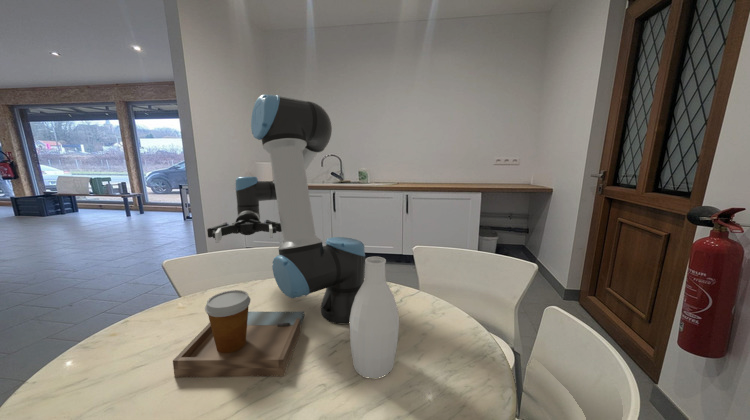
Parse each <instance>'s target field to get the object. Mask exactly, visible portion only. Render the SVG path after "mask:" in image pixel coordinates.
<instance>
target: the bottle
mask: <svg viewBox="0 0 750 420" xmlns="http://www.w3.org/2000/svg"><path fill="white" fill-rule="evenodd" d="M386 263H387V259H386V258H385V257H381V256H377V255H376V256H369V257H365V271H364V282H363V284H362V286H361V287H360V289H359V290H358V292H357V294H356V296H355V299H354V302H353V305H352V308H351V313H350V319H349V322H350V323H349V338H350V339H349V341H350V342H349V343H350V350H351V357H352V364H353V368H354V369H355V372H356V373H357V374H359V375H360V376H361V375H362V376H361V377H363V376H364V377H363V378H365V377H369V378H379V377H382V376H384V375H386V374H387V375H388V373H389V372H390V373H391V372H392V370H393V367H394V363H395V359H396V353H397V348H398V339H399V330H400V329H399V328H400V318H399V311H398V306H397V302H396V299H395V295H394V293H393V292H392V290H391V288H390V286H389V284H388V283H387V280H386ZM390 373H389V374H390ZM387 375H386V376H387ZM382 378H383V377H382Z"/></svg>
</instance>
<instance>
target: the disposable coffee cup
mask: <svg viewBox="0 0 750 420" xmlns="http://www.w3.org/2000/svg"><path fill="white" fill-rule="evenodd" d="M251 300H252V299H251V297H250V296H249V294H248V292H247V291H245V290H240V289H239V290H238V289H233V290H226V291H222V292H218V293H217V294H213V295H212V296H211V297H209V298H208V299H207V301H206V303H205V304H206V305H205V306H204V311H205V313H206V314H207V315H208V320H209V323H210V324H211V328H212V332H213V336H214V340H215V344H216V348H217V351H218V352H220V353H231V352H234V351H237V350H239V349H240V348H242V347H243V346H244V345H245V343H246V333H247V320H248V312H249V306H250V303H251V302H252V301H251Z"/></svg>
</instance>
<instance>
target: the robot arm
mask: <svg viewBox="0 0 750 420" xmlns="http://www.w3.org/2000/svg"><path fill="white" fill-rule="evenodd" d="M250 119H251V122H250V123H251V124H250V125H251V126H250V127H251V134H252V135H253V138H255V139H256V140H258V141H261V143H262V144H261V145H262V149H263V150H264V151H265V152H267V153H269V155H270V162H271V170H272V176H273V180H268V181H267V180H266V181H265V180H264V181H262V180H259V179H258V177H257V176H238V177H236V179H235V197H236V209H237V218H236V219H235V221H233V222H232V223H231V224H230V223H229V222H223V223H222V224H218V225H215V226H212V227H209V228H206V230H207V238H213V239H214V240H215V244H219V243H220V242H221V240H222V238H223V237H224V236H228V235H231V234H241V235H244V236H252V235H254V234H255V233H259V232H264V233H265V232H267V233H269V234H268V235H269V238H270V239H273V238H274V234H276V233H277V232H278V233H281V235H282V242H281V244H280V245H279V247H278V255H276V256H275V257H274V258H273V259H272V266H271V267H272V274H273V277H274V280H275V283H276V285H277V287H278V288H279V290H280V291H281V292H282V293H283V295H285V296H286V297H287V298H290V299H297V298H300V297H303V296H304V297H307V296H309V295H310V294H313V293H315V292H319V291H321V290H324V289H325V293H324V296H323V298H322V300H321V305H320V314H321V317H323V319H325V320H326V321H328V322H330V323H333V322H334V324H338V323H349V319H350V313H351V308H352V305H353V302H354V299H355V296H356V294H357V292H358V290H359V289H360V287H361V286H362V284H363V282H364V281H365V266H366V263H365V259H366V253H365V252H366V251H365V245H364V243H363V242H362V241H361V240H359V239H356V238H351V237H344V236H342V237H341V236H334V237H329V238H327V239H326V241H325V245H324V244H323V240H321V239H320V237H318V236H317V235H316V231H315V230H316V228H315V225H314V217H313V216H314V215H313V211H312V204H311V198H310V191H309V183H308V180H307V173H306V170H307V169H308V168H309V166H310V164H311V163H312V162H313V161H314V158H315V157H316V156H317V154H319V153H321V152H323V151H324V150H325V148H326V147H327V146H328V144H329V143H330V141H331V138H332V131H333V130H332V129H333V128H332V122H331V118H330V116H329V114H328V113H327V112H326V110H325V109H324V108H323V107H322V106H321V105H319V104H318V103H316V102H313V101H307V100H301V99H295V98H291V97H286V96H280V95H278V94H276V95H274V94H261V95H260V96H258V98H257V99H256V101H255V103H254V105H253V109H252V112H251V118H250ZM275 200H276V201H277V208H278V209H277V210H278V217H279V221H280V222H276V221H271V220H269V219H266V220H264V222H261V214H260V202H262V201H263V202H264V201H275ZM349 324H350V323H349Z"/></svg>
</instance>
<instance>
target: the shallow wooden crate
mask: <svg viewBox="0 0 750 420" xmlns="http://www.w3.org/2000/svg"><path fill="white" fill-rule="evenodd" d="M304 318H305V311H301V310H299V311H298V310H297V311H295V310H294V311H286V310H285V311H248V320H247V333H246V343H245V345H244V346H243V347H242V348H240V349H239V350H237V351H234V352H231V353H220V352H218V351H217V348H216V344H215V340H214V336H213V332H212V328H211V324H210V322H209V323H208V324H207V325H206V326H205V327H204V328H203V329H202V330H201V331H200V332H199V333H198V334H197V335H196V336H195V337H194V338H193V339H192V340H191V341H190V342H189V343H188V344H187V345H186V346H185V347H184V348H183V350H181V351H180V352H179V354H178V355H177V356H175V358H173V359H172V366H173V368H172V369H173V375H174V376H173V377H174V378H221V377H222V378H235V377H236V378H238V377H240V378H245V377H246V378H249V377H254V378H255V377H256V378H257V377H284V376H285V374H286V371H287V369H288V366H289V364H290V361H291V358H292V355H293V353H294V351H295V348H296V345H297V342H298V340H299V337H300V335H301V333H302V332H301V330H302V329H301V328H302V327H301V325H302V323H303V320H304Z"/></svg>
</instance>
